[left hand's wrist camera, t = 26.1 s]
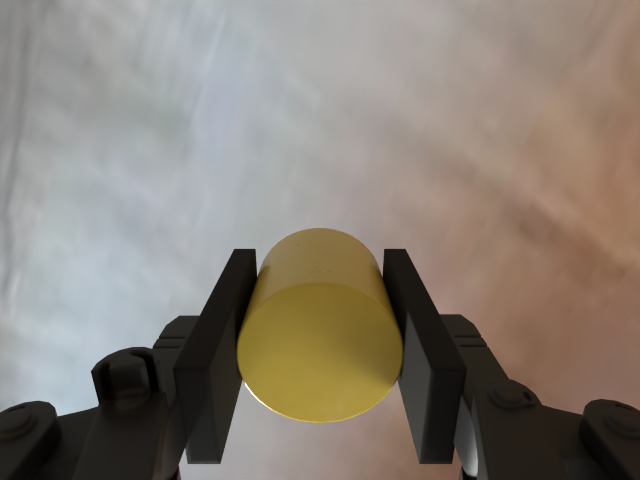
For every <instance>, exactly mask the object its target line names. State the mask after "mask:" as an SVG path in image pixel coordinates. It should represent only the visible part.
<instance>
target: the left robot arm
mask: <svg viewBox="0 0 640 480" xmlns="http://www.w3.org/2000/svg"><path fill="white" fill-rule="evenodd" d="M256 280H257V267H256V251H255V249H234V251H233V253H232V255H231V257H230V258H229V260H228V262H227V264H226V266H225V268H224V270H223V272H222V274H221V276H220V278H219V280H218V282H217V284H216V285H215V287H214V289H213V291H212V293H211V295H210V297H209V299H208V301H207V303H206V305H205V307H204V309H203V311H202V312H201V314H200V316H178V317H177V318H176V319H174V320H173V321H172V322H170V323H169V324H167V325H166V327H165V328H164V330H163V331H162V333H161V334H160V336H159V339H157V341H156V342H155V344H154V345H153V349H150V348H146V347H131V348H127V349H123V350H119V351H117V352H114V353H112V354H110V355H108V356H106V357H105V358H103V359H102V360H101V361H99V362H98V363H97V364H96V365H95V366H94V368H93V369H92V371H91V374H92V378H93V382H94V386H95V390H96V393H97V397H98V401H99V405H98V407H95V408H91V409H88V410H84V411H80V412H76V413H71V414H67V415H63V416H57V413H56V410H55V407H54V406H52V405H51V404H50V403H49V402H43V401H33V402H25V403H22V404H19V405H16V406H13V407H10V408H8V409H6V410H4V411H3V412H1V413H0V480H181V477H180V471H179V462H180V460H181V457H182V454H183V451H184V449H186V455H187V462H188V464H220V463H221V459H222V455H223V451H224V448H225V444H226V440H227V436H228V432H229V429H230V425H231V421H232V417H233V413H234V410H235V406H236V402H237V398H238V394H239V390H240V387H241V383H242V377H241V374H240V372H239V369H238V365H237V357H236V344H237V338H238V335H239V331H240V328H241V325H242V322H243V319H244V316H245V313H246V310H247V307H248V304H249V301H250V298H251V295H252V292H253V289H254V286H255V283H256ZM383 281H384V284H385V287H386V290H387V293H388V296H389V299H390V302H391V305H392V308H393V311H394V314H395V317H396V320H397V323H398V326H399V329H400V332H401V335H402V339H403V345H404V354H403V364H402V368H401V371H400V374H399V376H398V378H397V380H398V384H399V388H400V391H401V395H402V399H403V403H404V407H405V410H406V414H407V418H408V422H409V426H410V430H411V433H412V437H413V441H414V445H415V449H416V452H417V456H418V460H419V464H452V460H453V454H454V448H456V450H457V453H458V456H459V458H460V461H461V464H462V465H461V470H460V476H459V480H640V411H639V410H637V409H635V408H634V407H632V406H629V405H626V404H623V403H620V402H617V401H613V400H605V399H599V400H593V401H591V402H589V403H588V404H587V405H586V406H585V409H584V412H583V415H580V414H576V413H571V412H567V411H563V410H558V409H554V408H551V407H547V406H544V405H542V404H541V402H540V401H539V399H538V398H537V396H536V394H534V393H533V392H532V391H531V390H530V389H528V388H527V387H526V386H524V385H522V384H520V383H518V382H516V381H514V380H510V379H509V378H508V377H507V375H506V374H505V372H504V371H503V369H502V367H501V366H500V364H499V363H498V361H497V360H496V358H495V357H494V355H493V353H492V352H491V350H490V349H489V347H487V344H486V343H485V341H484V339H483V338H481V335H480V333H479V332H478V330H477V328H476V327H475V325H474V324H473V323H471V322H470V321H469V320H467V319H466V318H465V317H463V316H462V315H461V314H439V313H438V311H437V309H436V307H435V305H434V303H433V301H432V300H431V298H430V296H429V294H428V292H427V290H426V288H425V286H424V284H423V282H422V280H421V278H420V276H419V274H418V272H417V271H416V269H415V267H414V265H413V263H412V261H411V259H410V257H409V255H408V253H407V251H406V249H384V263H383Z"/></svg>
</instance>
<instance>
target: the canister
mask: <svg viewBox="0 0 640 480" xmlns="http://www.w3.org/2000/svg"><path fill="white" fill-rule="evenodd" d="M403 354H404V345H403V339H402V335H401V332H400V329H399V326H398V323H397V320H396V317H395V314H394V311H393V308H392V305H391V302H390V299H389V296H388V293H387V290H386V287H385V284H384V281H383V278H382V275H381V272H380V269H379V266H378V263H377V261H376V259H375V258H374V256H373V255H372V253H371V252H370V250H369V249H368V248H367V247H366V246H365V245H364V244H363V243H361V242H360V241H359V240H357V239H356V238H354V237H352V236H351V235H349V234H346V233H344V232H341V231H337V230H333V229H327V228H314V229H307V230H302V231H299V232H296V233H293V234H291V235H289V236H287V237H285V238H284V239H283V240H281V241H280V242H278V243H277V244H276V245H275V246H274V247H273V248H272V249H271V250H270V252H269V253H268V254H267V256H266V257H265V259H264V261H263V263H262V265H261V268H260V271H259V274H258V277H257V280H256V283H255V286H254V289H253V292H252V295H251V298H250V301H249V304H248V307H247V310H246V313H245V316H244V319H243V322H242V325H241V328H240V331H239V335H238V338H237V344H236V357H237V365H238V369H239V372H240V374H241V377H242V379H243V381H244V383H245V385H246V386H247V388H248V389H249V390H250V392H251V393H252V394H253V395H254V396H255V397H256V398H257V399H258V400H259V401H260V402H261V403H263V404H264V405H265V406H266V407H268V408H270V409H271V410H273V411H274V412H277V413H279V414H281V415H283V416H286V417H289V418H291V419H295V420H299V421H305V422H314V423H325V422H335V421H340V420H345V419H348V418H352V417H354V416H357V415H359V414H361V413H363V412H365V411H367V410H369V409H370V408H372V407H373V406H375V405H376V404H377V403H379V402H380V401H381V400H382V399H383V398H384V397H385V396H386V395H387V394H388V393H389V391H390V390H391V389H392V387H393V386H394V384H395V383H396V381H397V378H398V376H399V374H400V371H401V368H402V364H403Z"/></svg>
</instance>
